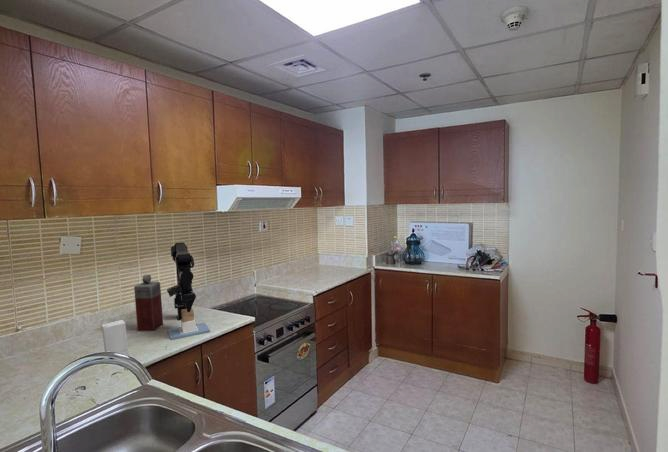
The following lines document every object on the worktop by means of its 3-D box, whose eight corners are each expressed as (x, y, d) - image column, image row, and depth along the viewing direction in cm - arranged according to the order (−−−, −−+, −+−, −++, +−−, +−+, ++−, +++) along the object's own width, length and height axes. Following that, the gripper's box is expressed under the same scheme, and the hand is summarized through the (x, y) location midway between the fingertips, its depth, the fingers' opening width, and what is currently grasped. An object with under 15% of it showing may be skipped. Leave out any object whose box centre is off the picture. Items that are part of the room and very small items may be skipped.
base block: (181, 329, 186) (180, 319, 186) (193, 326, 189) (193, 317, 189) (183, 332, 181) (182, 322, 181) (196, 330, 184) (195, 320, 184)
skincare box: (126, 352, 163) (123, 318, 162) (129, 356, 158) (126, 322, 157) (104, 357, 157) (101, 323, 156) (106, 362, 153) (103, 327, 152)
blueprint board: (167, 331, 187) (167, 329, 187) (204, 324, 196) (204, 321, 196) (170, 340, 175) (170, 337, 175) (210, 332, 183) (210, 329, 183)
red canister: (143, 324, 198) (139, 273, 196) (163, 324, 197) (159, 272, 195) (133, 330, 189) (128, 276, 187) (154, 330, 188) (150, 276, 186)
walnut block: (181, 319, 186) (181, 309, 185) (192, 317, 188) (191, 308, 188) (183, 322, 181) (182, 312, 181) (194, 320, 184) (193, 310, 183)
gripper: (165, 278, 187) (167, 308, 188) (169, 284, 171) (171, 318, 172) (188, 275, 193) (190, 304, 194) (194, 281, 176) (197, 313, 178)
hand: (187, 309), depth 184 cm, fingers open, 9 cm apart
